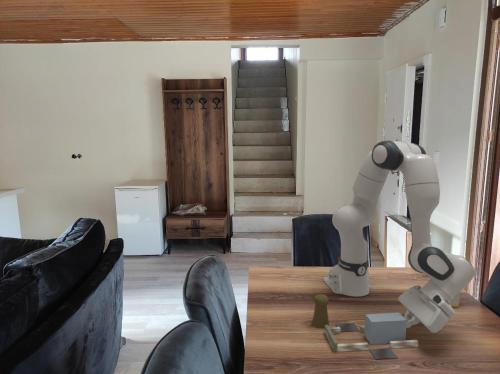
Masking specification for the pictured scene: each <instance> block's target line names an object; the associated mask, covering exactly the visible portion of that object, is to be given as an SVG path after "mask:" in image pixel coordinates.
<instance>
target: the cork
mask: <svg viewBox="0 0 500 374" xmlns="http://www.w3.org/2000/svg"><path fill="white" fill-rule="evenodd" d="M329 301H330V300H329V297H328V295H325V294H324V293H323V294H322V293H320V294H316V295H314V297H313V302H314V310H313V316H312V321H311V322H312V323H311V325H312V326H313V327H314V328H317V329H325V325H328V326H329V327H330V322H329V321H330V320H329V313H328V305H329Z"/></svg>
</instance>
